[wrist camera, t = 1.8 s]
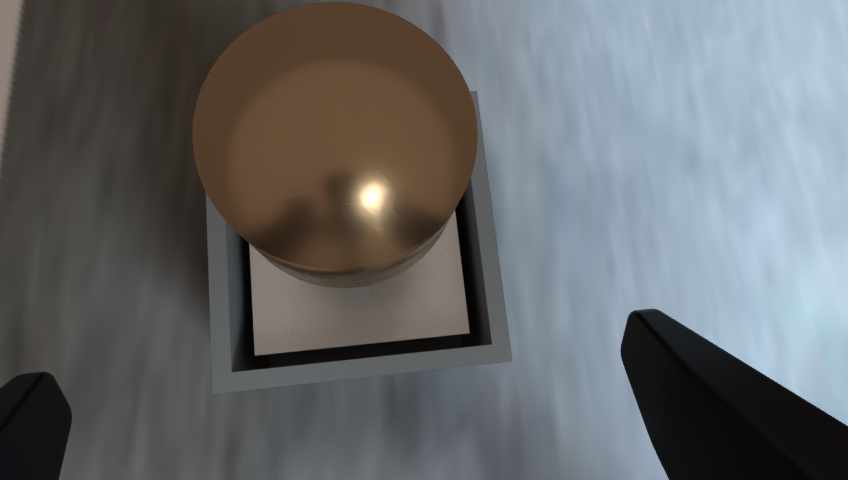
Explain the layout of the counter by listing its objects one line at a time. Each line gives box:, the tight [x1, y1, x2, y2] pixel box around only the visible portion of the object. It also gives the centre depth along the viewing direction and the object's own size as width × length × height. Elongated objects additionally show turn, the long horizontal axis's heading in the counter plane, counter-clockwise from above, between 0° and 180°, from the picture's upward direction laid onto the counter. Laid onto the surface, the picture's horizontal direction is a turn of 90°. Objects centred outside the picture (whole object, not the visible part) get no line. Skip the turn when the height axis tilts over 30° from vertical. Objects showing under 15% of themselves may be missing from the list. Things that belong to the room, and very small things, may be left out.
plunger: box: [192, 2, 478, 356], centre depth 13 cm, size 6×6×9 cm
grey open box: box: [206, 91, 512, 394], centre depth 19 cm, size 9×8×6 cm
